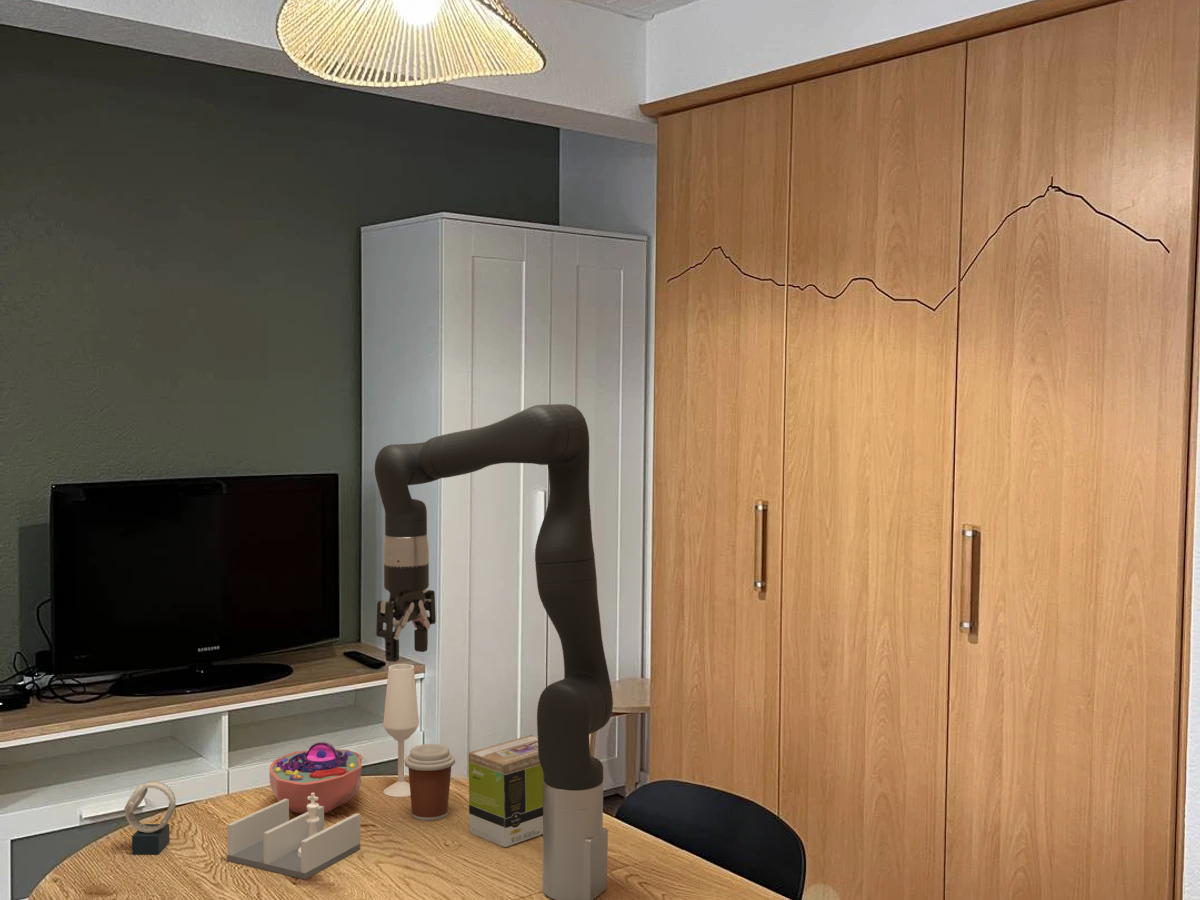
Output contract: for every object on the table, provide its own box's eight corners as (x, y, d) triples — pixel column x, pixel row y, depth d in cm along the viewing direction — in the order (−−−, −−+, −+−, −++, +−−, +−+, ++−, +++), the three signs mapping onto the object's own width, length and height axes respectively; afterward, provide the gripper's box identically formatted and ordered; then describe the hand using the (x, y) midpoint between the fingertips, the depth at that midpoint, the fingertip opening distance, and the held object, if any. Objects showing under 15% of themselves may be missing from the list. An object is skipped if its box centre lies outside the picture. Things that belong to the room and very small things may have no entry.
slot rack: (360, 849, 204) (360, 814, 204) (305, 879, 191) (304, 842, 191) (285, 832, 211) (285, 798, 211) (227, 860, 199) (227, 824, 198)
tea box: (531, 812, 222) (532, 732, 222) (569, 827, 215) (570, 744, 214) (466, 833, 212) (467, 749, 211) (504, 849, 205) (505, 763, 204)
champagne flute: (402, 799, 228) (402, 672, 227) (375, 792, 232) (375, 667, 231) (426, 789, 234) (426, 665, 233) (399, 782, 238) (399, 661, 236)
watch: (132, 842, 206) (131, 778, 205) (180, 842, 206) (179, 778, 206) (120, 855, 200) (119, 789, 200) (169, 855, 201) (168, 789, 200)
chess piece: (320, 860, 197) (320, 799, 196) (292, 857, 198) (292, 797, 197) (333, 848, 201) (333, 789, 201) (305, 846, 202) (305, 787, 202)
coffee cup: (398, 809, 223) (399, 744, 222) (447, 803, 227) (447, 739, 226) (411, 826, 215) (411, 759, 214) (461, 819, 218) (461, 753, 217)
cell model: (248, 824, 215) (248, 761, 214) (296, 787, 234) (296, 729, 234) (339, 831, 212) (339, 767, 211) (380, 793, 231) (380, 735, 231)
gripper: (400, 568, 199) (401, 667, 199) (447, 557, 211) (448, 650, 212) (362, 565, 202) (363, 662, 203) (411, 554, 215) (412, 646, 215)
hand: (407, 656), depth 207 cm, fingers open, 8 cm apart
